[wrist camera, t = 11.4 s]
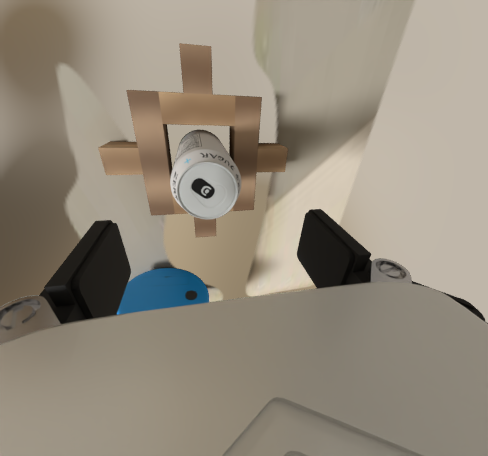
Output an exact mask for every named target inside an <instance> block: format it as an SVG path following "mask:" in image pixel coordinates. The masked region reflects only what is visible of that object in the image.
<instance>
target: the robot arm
mask: <svg viewBox="0 0 488 456" xmlns="http://www.w3.org/2000/svg"><path fill="white" fill-rule="evenodd" d="M370 256H371V253H370V252H368V251H367V250H366V249H365V248H364V247H363V246H362V245H361V244H359V243H358V242H357V241H356V240H355V239H354V238H353V237H351V236H350V235H349V234H348V233H347V232H346V231H345V230H344V229H343V228H342V227H340V226H339V225H338V224H337V223H336V222H335V221H334V220H333V219H332V218H330V217H329V216H328V215H327V214H326V213H325V212H324V211H323V210H321V209H315V210H309V212H308V213H306V214H305V219H304V223H303V228H302V232H301V237H300V241H299V246H298V251H297V257H298V259H299V261H300V262H301V264H302V265H303V267H304V269H305V270H306V272H307V273H308V275H309V276H310V278H311V279H312V281H313V283H314V284H315V286H316V287H317V289H309V290H301V291H293V292H285V293H277V294H270V295H262V296H254V297H246V298H239V299H232V300H223V301H215V302H208V303H200V304H193V305H185V306H178V307H170V308H163V309H155V310H148V311H140V312H133V313H126V314H118V315H117V312H118V309H119V306H120V303H121V300H122V297H123V295H124V292H125V289H126V286H127V283H128V280H129V277H130V274H131V269H130V265H129V262H128V258H127V255H126V252H125V248H124V245H123V242H122V239H121V235H120V232H119V229H118V226H117V224H116V223H113V222H112V221H111V220H105V221H95V222H94V224H93V225H92V226H91V227H90V229H89V230H88V231H87V233H86V234H85V235H84V237H83V238H82V239H81V240H80V242H79V243H78V244H77V246H76V247H75V248H74V249H73V251H72V252H71V253H70V255H69V256H68V257H67V259H66V260H65V261H64V262H63V264H62V265H61V266H60V268H59V269H58V270H57V271H56V273H55V274H54V275H53V277H52V278H51V279H50V280H49V282H48V283H47V284H46V286H45V287H44V288H45V289H44V290H43V291H42V293H41V294H40V295H39V296H38V295H35V296H26V297H22V298H19V299H16V300H13V301H11V302H9V303H7V304H5V305H4V306H1V307H0V456H488V323H487V322H485V318H484V317H483V315H482V314H481V313H480V312H479V311H478V310H477V309H476V308H475V307H474V306H473V305H471V304H470V303H469V302H467V301H465V300H463V299H461V298H457V297H454V296H451V295H449V294H446V293H443V292H440V291H438V290H435V289H432V288H429V287H427V286H424V285H421V284H418V283H416V282H413V281H412V280H411V275H410V273H409V272H408V270H407V269H406V268H404V267H403V266H402V265H400V264H398V263H396V262H394V261H391V260H387V259H381V258H379V259H375V260H373V261H371V260H370V259H369V258H370Z"/></svg>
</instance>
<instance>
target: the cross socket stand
mask: <svg viewBox="0 0 488 456" xmlns="http://www.w3.org/2000/svg"><path fill="white" fill-rule="evenodd" d="M179 45H180V57H181V69H182V80H183V92H184V93H175V92H157V91H137V90H127V95H128V100H129V105H130V110H131V116H132V121H133V126H134V131H135V136H136V141H137V142H108V143H107V144H105V145H103V146H101V147H99V152H100V155H101V159H102V162H103V166H104V169H105V173H106V175H133V174H143V176H144V181H145V186H146V191H147V196H148V202H149V207H150V212H151V215H167V214H186V213H188V212H186V211H185V210H184V209H183V208H182V207H181V206H180V205H179V204H178V203H177V201H176V200H175V198H174V197H173V194H172V191H171V186H170V178H171V173H172V162H171V154H170V147H169V139H168V131H167V124H181V125H220V126H230V157H231V158H232V160H233V162H234V163H235V165H236V166H237V168H238V170H239V173H240V176H241V190H240V194H239V196H238V199H237V200H236V202H235V204H234V206H233V207H232V209H231V210H230V211H240V210H241V211H242V210H254V198H255V185H256V172H285V167H286V159H287V152H288V148H286V147H284V146H282V145H280V144H278V143H258V142H259V129H260V114H261V101H262V97H249V96H231V95H230V96H229V95H212V61H211V46H201V45H191V44H181V43H180V44H179ZM194 222H195V233H196V237H208V236H216V218H215V219H200V218H197V217H194Z"/></svg>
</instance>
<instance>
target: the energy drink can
mask: <svg viewBox="0 0 488 456" xmlns="http://www.w3.org/2000/svg"><path fill="white" fill-rule="evenodd" d="M170 186H171V191H172V194H173V197H174V198H175V200H176V201H177V203H178V204H179V205H180V206H181V207H182V208H183V209H184V210H185V211H186V212H188V213H189V214H190V215H192V216H194V217H197V218H200V219H215V218H218V217H221V216H223V215H225V214H226V213H228V212H229V211H230V210H231V209H232V207H233V206H234V204H235V202H236V200H237V199H238V196H239V194H240V190H241V176H240V173H239V170H238V168H237V166H236V165H235V163H234V162H233V160H232V158H231V157H230V155H229V154H228V152H227V151H226V150H225V148H224V146H223V145H222V143H221V142H220V140H219V139H218V138H217V137H216V136H215V135H214V134H212V133H211V132H208V131H205V130H194V131H192V132H189V133H188V134H186V135H185V136H184V137H183V138H182V140H181V142H180V144H179V148H178V151H177V155H176V159H175V162H174V166H173V169H172V173H171V178H170Z"/></svg>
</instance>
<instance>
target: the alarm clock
mask: <svg viewBox="0 0 488 456" xmlns="http://www.w3.org/2000/svg"><path fill="white" fill-rule="evenodd" d="M208 302H209V293H208V290H207V287H206V285H205V284H204V283H203V281H202V280H201V279H200V278H199V277H197V276H196V275H194V274H193V273H190V272H188V271H185V270H182V269H177V268H160V269H154V270H151V271H147V272H145V273H142V274H140V275H138V276H137V277H135V278H134V279H132V280H131V281H130V282H128V283H127V286H126V289H125V292H124V295H123V297H122V300H121V303H120V306H119V309H118V312H117V315H118V314H126V313H133V312H140V311H148V310H155V309H163V308H170V307H178V306H185V305H193V304H200V303H208Z"/></svg>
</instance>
